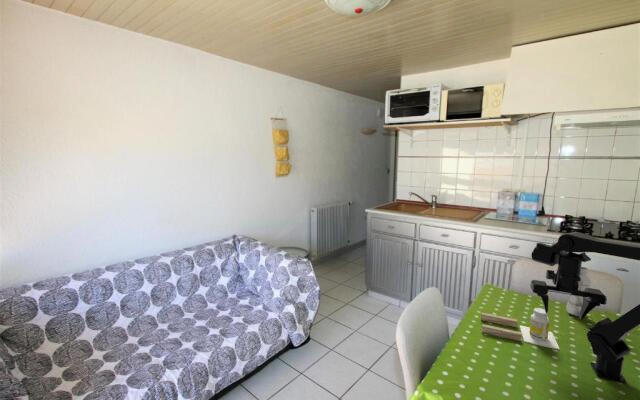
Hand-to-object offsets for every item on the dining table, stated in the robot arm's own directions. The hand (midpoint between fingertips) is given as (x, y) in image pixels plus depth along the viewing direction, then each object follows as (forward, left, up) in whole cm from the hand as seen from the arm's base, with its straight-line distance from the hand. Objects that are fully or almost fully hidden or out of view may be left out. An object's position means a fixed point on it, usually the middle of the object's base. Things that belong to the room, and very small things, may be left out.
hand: (563, 315), depth 101 cm
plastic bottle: (+31, -12, -12) cm, 35 cm away
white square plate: (+5, +5, -12) cm, 14 cm away
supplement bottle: (+5, +5, -12) cm, 14 cm away
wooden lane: (+5, +17, -12) cm, 21 cm away
